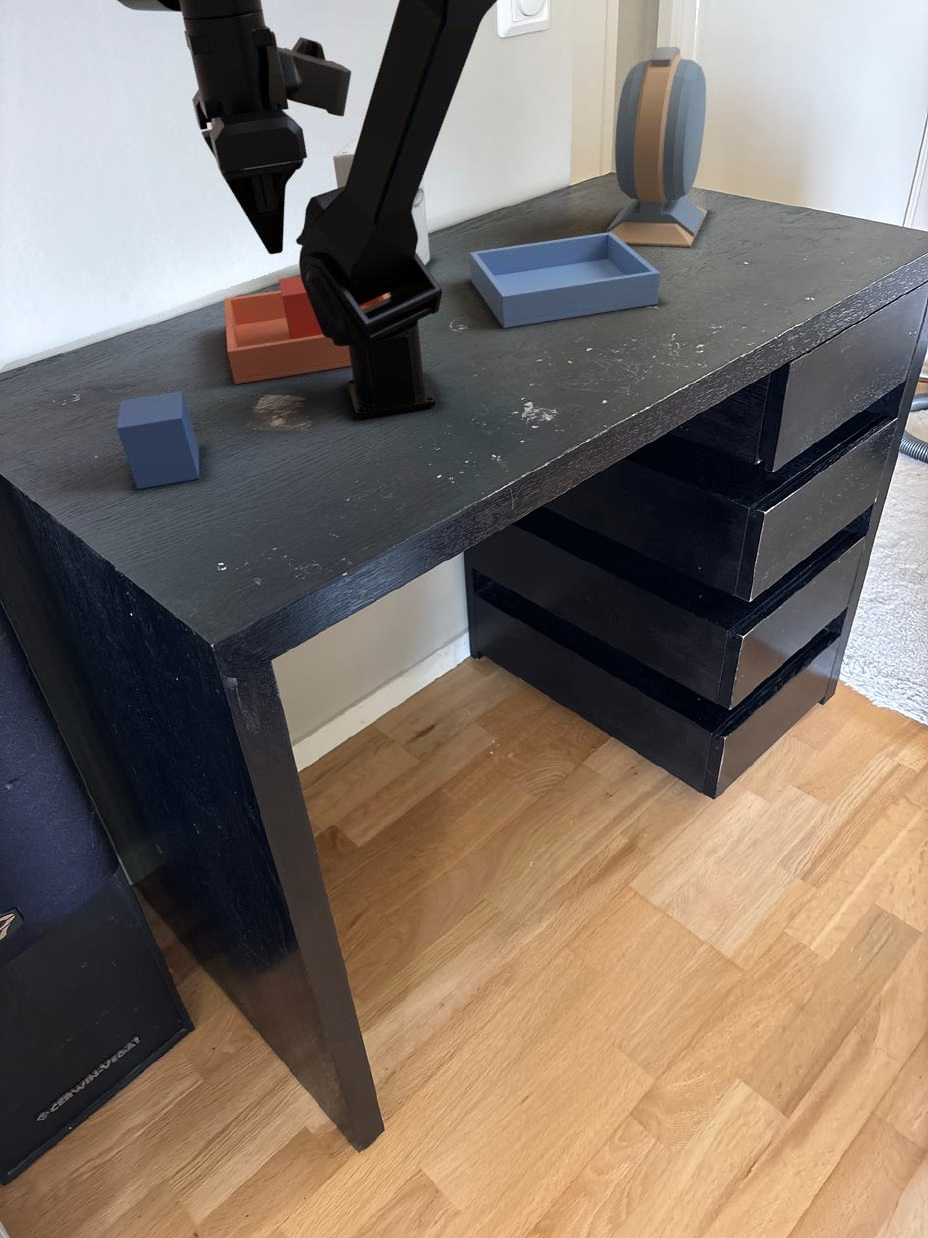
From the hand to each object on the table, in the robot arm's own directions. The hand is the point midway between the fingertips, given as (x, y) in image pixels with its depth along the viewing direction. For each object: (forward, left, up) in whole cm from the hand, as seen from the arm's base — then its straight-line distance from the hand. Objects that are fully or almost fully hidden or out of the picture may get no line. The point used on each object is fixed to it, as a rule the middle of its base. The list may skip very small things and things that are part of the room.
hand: (267, 236), depth 76 cm
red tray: (+4, -2, -11) cm, 12 cm away
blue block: (-16, +11, -11) cm, 22 cm away
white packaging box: (+20, -12, -11) cm, 26 cm away
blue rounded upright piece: (+22, -43, -11) cm, 50 cm away
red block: (+4, -2, -10) cm, 11 cm away
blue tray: (+7, -27, -11) cm, 30 cm away
